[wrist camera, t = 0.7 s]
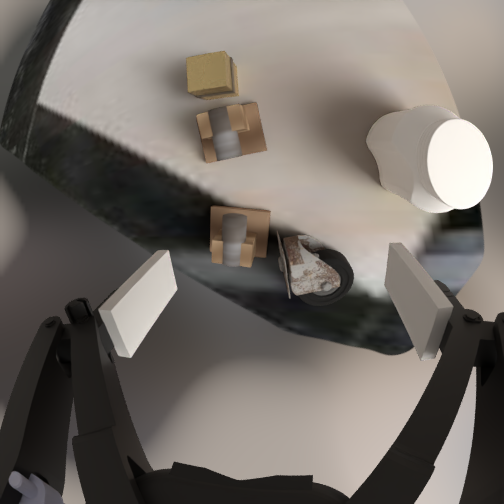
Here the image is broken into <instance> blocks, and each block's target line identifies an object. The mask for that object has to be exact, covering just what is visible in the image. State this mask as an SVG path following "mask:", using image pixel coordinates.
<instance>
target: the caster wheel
mask: <svg viewBox="0 0 504 504" xmlns="http://www.w3.org/2000/svg"><path fill="white" fill-rule="evenodd" d="M277 237H278V243H279V250H280V256H281V257H279V258H278V263H279V268H280V270H281V271H282V272H283V273H284V278H285V282H286V286H287V290H288V294H289V298H290V292H289V284H288V276H289V281H290V286H291V289H292V291H293V293H294V294H295V295H298V296H299V297H300V299H301V300H303V301H304V302H306V303H308V304H310V305H316V306H322V305H328V304H331V303H334V302H336V301H338V300H339V299H341V298H342V297H343V296H344V295H345V294H346V293H347V292H348V291H349V290H350V288H351V286H352V284H353V280H354V273H353V270H352V268H351V266H350V264H349V263H348V261H347V259H346V258H345V256H344V255H343V254H341V253H340V252H338V251H335V250H330V249H325V248H324V247H323V245H322V244H321V243H320V242H319V241H318V240H316V239H315V238H313V237H310V236H307V235H297V236H292V237H286V238H283V249H282V245H281V242H280V238H279V235H278V231H277Z"/></svg>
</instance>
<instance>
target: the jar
mask: <svg viewBox="0 0 504 504" xmlns="http://www.w3.org/2000/svg"><path fill="white" fill-rule="evenodd" d="M366 143H367V146H368V148H369V150H370V151H371V152H372V154H373V156H374V158H375V160H376V162H377V165H378V169H379V176H380V178H379V179H380V182H381V185H382V187H383V188H385V189H386V190H388V191H390V192H392V193H394V194H396V195H399V196H400V197H402V198H404V199H406V200H407V201H409V202H410V203H411V204H413V205H414V206H416V207H418V208H419V209H421V210H424V211H427V212H431V213H442V212H447V211H450V210H452V209H454V208H456V209H466V208H470V207H472V206H474V205H476V204H477V203H478V202H479V201H480V200H481V199H482V198H483V197H484V196H485V194H486V192H487V190H488V188H489V186H490V182H491V178H492V171H493V164H492V156H491V151H490V148H489V145H488V143H487V141H486V139H485V137H484V136H483V134H482V133H481V132H480V131H479V129H478V128H477V127H475V126H474V125H473V124H471V123H470V122H468V121H466V120H463V119H460V118H459V117H458V116H456V115H455V114H454V113H452V112H451V111H449V110H448V109H446V108H443V107H440V106H437V105H422V106H417V107H414V108H412V109H408V110H404V111H398V112H392V113H389V114H386V115H384V116H382V117H381V118H379V119H378V120H377V121H376V122H375V123H374V124H373V125H372V127H371V129H370V130H369V133H368V135H367V138H366Z"/></svg>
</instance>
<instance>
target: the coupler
mask: <svg viewBox="0 0 504 504" xmlns="http://www.w3.org/2000/svg"><path fill="white" fill-rule="evenodd" d="M186 64H187V84H188V92H189V93H191V94H194V95H196V97H198V98H203V99H205V100H211V99H218V98H226V97H234V96H239V93H238V79H237V66H236V65H235V64H234V62H233V59H232V58H231V57H229V56H228V55H227V53H226V52H225V51H220V52H214V53H208V54H203V55H198V56H193V57H188V58H186Z"/></svg>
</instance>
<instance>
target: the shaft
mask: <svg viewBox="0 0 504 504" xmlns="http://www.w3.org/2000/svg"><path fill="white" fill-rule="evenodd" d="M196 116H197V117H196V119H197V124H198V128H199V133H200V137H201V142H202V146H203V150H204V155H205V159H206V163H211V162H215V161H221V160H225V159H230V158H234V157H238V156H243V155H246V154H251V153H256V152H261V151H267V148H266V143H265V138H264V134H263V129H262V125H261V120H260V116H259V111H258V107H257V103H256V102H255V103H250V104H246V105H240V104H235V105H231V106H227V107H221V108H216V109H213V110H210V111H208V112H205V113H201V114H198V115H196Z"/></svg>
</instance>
